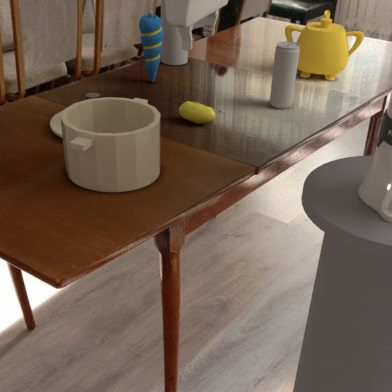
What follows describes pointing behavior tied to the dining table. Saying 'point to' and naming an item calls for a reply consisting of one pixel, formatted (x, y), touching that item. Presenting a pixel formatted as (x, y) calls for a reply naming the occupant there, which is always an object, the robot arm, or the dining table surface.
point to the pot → (112, 143)
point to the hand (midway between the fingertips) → (198, 42)
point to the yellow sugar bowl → (323, 47)
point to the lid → (56, 121)
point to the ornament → (151, 42)
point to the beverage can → (284, 74)
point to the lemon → (196, 112)
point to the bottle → (171, 42)
